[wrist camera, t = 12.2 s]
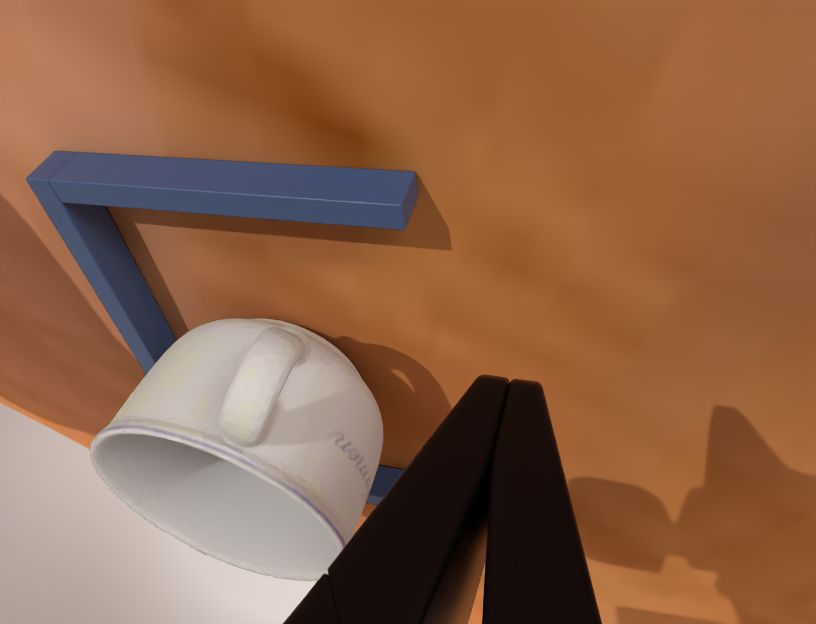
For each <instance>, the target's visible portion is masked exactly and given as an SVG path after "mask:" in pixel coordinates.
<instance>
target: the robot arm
mask: <svg viewBox="0 0 816 624" xmlns="http://www.w3.org/2000/svg"><path fill="white" fill-rule="evenodd" d="M485 561H486V563H485ZM484 564H485V581H484V599H483V617H482V624H602V622H601V618H600V614H599V610H598V606H597V602H596V598H595V594H594V590H593V586H592V582H591V578H590V574H589V570H588V566H587V562H586V558H585V554H584V550H583V546H582V543H581V539H580V535H579V531H578V527H577V523H576V519H575V515H574V511H573V507H572V503H571V499H570V495H569V491H568V487H567V483H566V479H565V475H564V471H563V467H562V463H561V459H560V455H559V451H558V447H557V443H556V439H555V435H554V431H553V427H552V423H551V419H550V415H549V411H548V407H547V403H546V399H545V395H544V391H543V388H542V385H541V384H540V383H539V382H536V381H528V380H521V379H514V380H512V381H511V382H510V381H509V380H508V379H507V378H505V377H498V376H491V375H481V376H479V377H478V378H477V379H476V380H475V381H474V382H473V384H472V385H471V386H470V387H469V389H468V390H467V391H466V393H465V394H464V395H463V396H462V398H461V399H460V400H459V401H458V403H457V404H456V405H455V407H454V408H453V409H452V410H451V412H450V413H449V414H448V416H447V417H446V418H445V419H444V421H443V422H442V423H441V424H440V426H439V427H438V428H437V430H436V431H435V432H434V433H433V435H432V436H431V437H430V439H429V440H428V441H427V442H426V444H425V445H424V446H423V447H422V449H421V450H420V451H419V453H418V454H417V455H416V456H415V458H414V459H413V460H412V461H411V463H410V464H409V465H408V467H407V468H406V469H405V470H404V472H403V473H402V474H401V476H400V477H399V478H398V479H397V481H396V482H395V483H394V484H393V486H392V487H391V488H390V490H389V491H388V492H387V493H386V495H385V496H384V497H383V499H382V500H381V501H380V502H379V504H378V505H377V506H376V507H375V509H374V510H373V511H372V513H371V514H370V515H369V516H368V518H367V519H366V520H365V521H364V523H363V524H362V525H361V527H360V528H359V529H358V530H357V532H356V533H355V534H354V536H353V537H352V538H351V539H350V541H349V542H348V543H347V544H346V546H345V547H344V548H343V550H342V551H341V552H340V553H339V555H338V556H337V557H336V558H335V560H334V561H333V562H332V564H331V565H330V566H329V567H328V574H326V573H325V574H323V575H322V576H321V577H320V579H319V580H318V581H317V582H316V584H315V585H314V586H313V587H312V589H311V590H310V591H309V593H308V594H307V595H306V596H305V598H304V599H303V600H302V601H301V602H300V604H299V605H298V606H297V607H296V609H295V610H294V611H293V612H292V613H291V615H290V616H289V617H288V618H287V619H286V621H285V622H284V623H283V624H468V621H469V617H470V614H471V610H472V607H473V603H474V600H475V596H476V593H477V589H478V585H479V582H480V578H481V575H482V571H483V568H484Z"/></svg>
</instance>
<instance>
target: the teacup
mask: <svg viewBox="0 0 816 624" xmlns="http://www.w3.org/2000/svg"><path fill="white" fill-rule="evenodd" d="M382 445H383V423H382V418H381V413H380V410H379V407H378V405H377V403H376V401H375V398H374V396H373V394H372V393H371V391H370V389H369V388H368V386H367V385H366V383H365V382H364V381H363V380H362V378H361V376H360V374H359V372H358V371H357V370H356V368H355V367H354V365H353V364H352V363H351V362H350V360H349V359H348V358H347V357H346V356H345V355H344V354H343V353H342V352H341V351H340V350H339V349H337V348H336V347H335V346H334V345H332V344H331V343H330V342H328V341H327V340H325V339H324V338H322V337H320V336H319V335H317V334H315V333H313V332H311V331H309V330H307V329H305V328H302V327H300V326H298V325H294V324H291V323H288V322H284V321H280V320H272V319H262V318H255V319H242V318H237V319H222V320H216V321H213V322H209V323H206V324H203V325H200V326H198V327H196V328H194V329H192V330H191V331H189V332H187V333H186V334H185V335H183V336H182V337H181V338H179V339H178V340H177V341H176V342H175V343H174V344H173V345H172V346H171V347H170V348H169V349H168V350H167V351H166V352H165V353H164V354H163V355H162V356H161V358H160V359H159V360H158V361H157V362H156V363H155V365H154V366H153V367H152V368H151V370H150V371H149V372H148V373H147V375H146V376H145V377H144V378H143V380H142V381H141V382H140V384H139V385H138V386H137V387H136V389H135V390H134V391H133V392H132V394H131V395H130V396H129V398H128V399H127V400H126V402H125V403H124V405H123V406H122V407H121V409H120V410H119V411H118V413H117V414H116V415H115V417H114V418H113V420H112V421H111V422H110V424H109V425H108V426H107V427H106V428H104V429H103V430H102V431H100V432H99V433H98V434H97V436H96V437H95V438H94V440H93V442H92V443H91V447H90V456H91V461H92V464H93V466H94V468H95V469H96V471H97V473H98V475H99V476H100V478H102V480H103V481H104V483H105V484H106V485H107V486H108V487H109V489H110V490H111V491H112V492H113V493H114V494H115V495H116V496H117V497H118V498H119V499H121V500H122V501H123V502H124V503H125V504H126V505H127V506H129V507H130V508H131V509H132V510H133V511H135V512H136V513H137V514H139V515H140V516H141V517H143V518H144V519H146V520H147V521H149V522H150V523H152V524H153V525H155V526H156V527H157V528H159V529H160V530H162V531H165V532H166V533H168V534H170V535H172V536H173V537H175V538H176V539H178V540H180V541H182V542H184V543H185V544H187V545H189V546H191V547H193V548H194V549H196V550H198V551H200V552H201V553H203V554H205V555H209V556H211V557H214V558H216V559H218V560H221V561H223V562H226V563H228V564H231V565H233V566H236V567H239V568H242V569H245V570H248V571H252V572H255V573H259V574H263V575H267V576H272V577H275V578H281V579H289V580H298V581H318V580H319V579H320V577H321V576H322V575H323V574H325V573H326V574H328V567H329V566H330V565H331V564H332V562H333V561H334V560H335V558H336V557H337V556H338V555H339V553H340V552H341V551H342V550H343V548H344V547H345V546H346V544H347V543H348V542H349V541H350V539H351V538H352V537H353V534H354V532H355V529H356V527H357V524H358V521H359V519H360V516H361V514H362V511H363V508H364V506H365V503H366V500H367V497H368V495H369V492H370V489H371V486H372V483H373V480H374V477H375V474H376V471H377V468H378V465H379V460H380V456H381V451H382Z"/></svg>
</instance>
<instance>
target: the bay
mask: <svg viewBox="0 0 816 624" xmlns="http://www.w3.org/2000/svg"><path fill="white" fill-rule="evenodd" d="M26 180H27V182H28V184H29V185H30V187H31V188H32V190H33V192H34V193H35V195H36V197H37V198H38V200H39V201H40V203H41V205H42V206H43V208H44V210H45V211H46V213H47V214H48V216H49V218H50V219H51V221H52V223H53V224H54V226H55V227H56V229H57V231H58V232H59V234H60V236H61V237H62V239H63V240H64V242H65V244H66V245H67V247H68V249H69V250H70V252H71V253H72V255H73V257H74V258H75V260H76V262H77V263H78V265H79V266H80V268H81V270H82V271H83V273H84V275H85V276H86V278H87V279H88V281H89V283H90V284H91V286H92V288H93V289H94V291H95V292H96V294H97V296H98V297H99V299H100V301H101V302H102V304H103V305H104V307H105V309H106V310H107V312H108V314H109V315H110V317H111V319H112V320H113V322H114V323H115V325H116V327H117V328H118V330H119V332H120V333H121V335H122V336H123V338H124V340H125V341H126V343H127V345H128V346H129V348H130V349H131V351H132V353H133V354H134V356H135V358H136V359H137V361H138V362H139V364H140V366H141V367H142V369H143V371H144V372H145V374H146V375H147V373H148V372H149V371H150V370H151V368H152V367H153V366H154V365H155V363H156V362H157V361H158V360H159V359H160V358H161V356H162V355H163V354H164V353H165V352H166V351H167V350H168V349H169V348H170V347H171V346H172V345H173V344H174V343H175V342H176V341H177V340H176V338H175V336H174V334H173V332H172V331H171V329H170V327H169V325H168V323H167V321H166V319H165V318H164V316H163V314H162V312H161V310H160V308H159V306H158V304H157V303H156V301H155V299H154V297H153V295H152V293H151V291H150V289H149V288H148V286H147V284H146V282H145V280H144V278H143V276H142V274H141V273H140V271H139V269H138V267H137V265H136V263H135V261H134V259H133V258H132V256H131V254H130V252H129V250H128V248H127V246H126V244H125V243H124V241H123V239H122V237H121V235H120V233H119V231H118V229H117V228H116V226H115V224H114V222H113V220H112V218H111V216H110V214H109V213H108V211H107V209H106V207H105V206H112V207H125V208H137V209H149V210H162V211H174V212H186V213H199V214H211V215H223V216H236V217H248V218H261V219H273V220H285V221H298V222H310V223H322V224H335V225H347V226H360V227H372V228H384V229H397V230H405V228H406V225H407V223H408V220H409V218H410V215H411V213H412V210H413V208H414V205H415V203H416V201H417V198H418V189H417V181H416V173H415V172H412V171H394V170H377V169H360V168H343V167H325V166H308V165H291V164H274V163H256V162H239V161H222V160H204V159H187V158H170V157H153V156H135V155H118V154H101V153H83V152H77V153H76V152H65V151H54V152H53V153H52V154H51V155H50V156H49V157H48V158H47V159H46V160H45V161H44V162H43V163H41V164H40V165H39V166H38V167H37V168H36V169H35V170H34V171H33V172H32V173H31V174H30V175H29V176H28V177H27V178H26ZM403 472H404V470H402V469H396V468H390V467H384V466H379V465H378V468H377V471H376V474H375V477H374V480H373V483H372V486H371V489H370V492H369V495H368V497H367V500H366V503H371V504H376V505H378V504H379V502H380V501H381V500H382V499H383V497H384V496H385V495H386V493H387V492H388V491H389V490H390V488H391V487H392V486H393V484H394V483H395V482H396V481H397V479H398V478H399V477H400V476H401V474H402V473H403Z"/></svg>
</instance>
